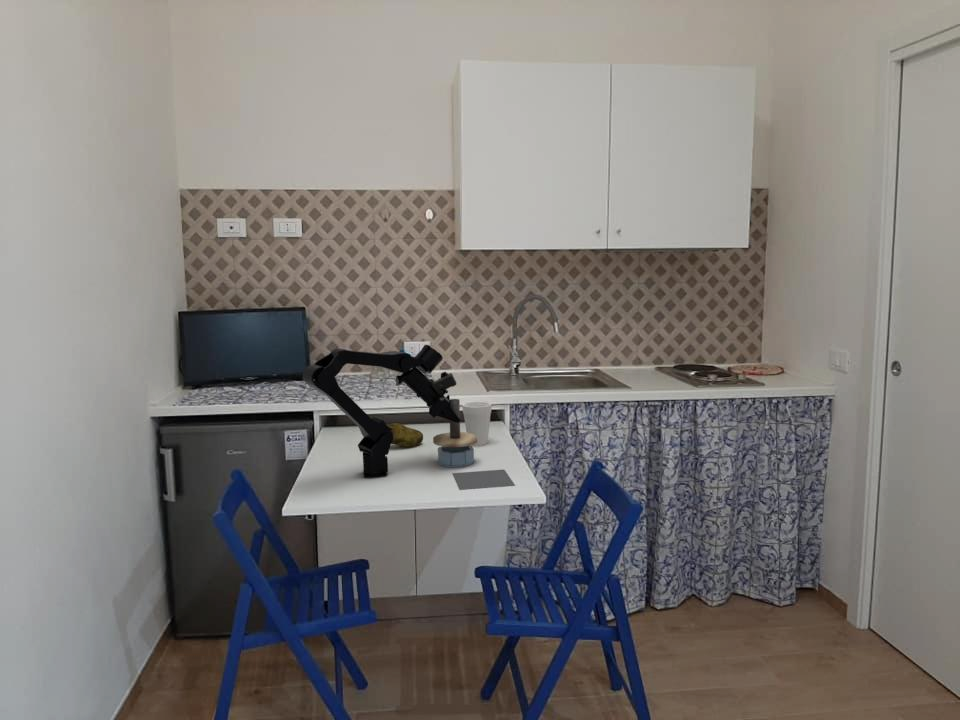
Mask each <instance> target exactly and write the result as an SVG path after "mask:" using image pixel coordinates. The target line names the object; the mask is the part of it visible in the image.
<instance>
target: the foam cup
mask: <svg viewBox="0 0 960 720" xmlns="http://www.w3.org/2000/svg"><path fill="white" fill-rule="evenodd" d="M462 413H463V418H464V425H465V429H466V430H465V431H466V432H465V433H471V434H474V435H476V436H477V443H475V444H473V445H471V446H472V447H477V446H478V447H480V446H486V445H487V444H488V442H489V434H490V433H489V432H490V425H491V424H490V423H491V415H492V403H491V402H488V401H481V400H480V401H468V402H464V403H462Z"/></svg>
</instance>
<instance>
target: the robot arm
mask: <svg viewBox="0 0 960 720" xmlns="http://www.w3.org/2000/svg"><path fill="white" fill-rule="evenodd" d="M443 359H444V358H443V356H442V354H441V353H440V352H438V351H437V350H436V349H434V348H433V347H431V346H430V344H424V345H423V347H422V348H421V350H420V351H419V352H418V353H417V354H416V355H415V356H412V355H411V354H409V353H406V352H403V351H399V350H398V351H396V350H392V351H384V352H372V351H370V352H369V351H360V350H350V349H343V348H340V347H339V348H334V349H333V350H332V351H330V353H328V354H327V355H325V356H323V357H322V358H320V359H318V360H317V361H316V362H314V363H313V364H309V365H307V366H306V367H305V369H303V372H302V380H303V382H304V383H305V384H306V385H308V386H309V387H311V388H313V389H314V390H316V391H317V392H319V393H321V394H322V395H324V396H326V397H327V399H329V400H330V401H331V402H332V403H333V404H334V405H335V406H336V407H337V408H338V409H339V410H340V411H342V413H343V414H345V416H346V417H348V418H349V419H350V420H351V422H353V423H354V424H355V425H356V426H357V427H358V429H359V431H360V434H361V435H362V437H363V438H361V440H360V441H359V442H358V444H357V447H358V449H359V452H360V453H362V463H363V465H362V466H363V467H362V468H363V470H362V473H363V474H362V475H363V478H376V477H378V478H379V477H387V476H388V474H387V473H388V472H389V460H388V459H389V458H388V456H387V455H389V453H390V448H391V446H392V445H393V444H392V442H393V436H394V435H393V433H392V432H391V431H390V430H392V428H389V427H388V426H387V425H388V424H387V423H386V422H385V421H384V420H383V419H381V418H378V417H376V416H372V417H371V416H370V415H368V413H366V412H365V410H363V409H362V407H360V406H359V405H358V404H357V403H356V401H354V400H353V399H352V398H351V397H350V396H349V395H348V394H347V393H346V391H344V390H343V389H342V388H341V387H340V385H339V383H338V380H337V379H336V377H337V375H339V373H340V372H341V370H342V369H343V368H344V366H345V365H347V364H348V365H357V366H359V365H360V366H370V367H381V368H383V369H386V370H390V371H392V372H393V371H394V372H398V373H401V374H400V375H396V376H395V386H396V387H398V386H400V385H401V384H403V383H404V385H406V386H407V388H409V389H410V390H411V391H413V393H414V394H415V396H416V397H417V398H420V399H421V400H422V401H423V402H424V403H425V404H426V407H428V414H429V415H430V416H431V417H432V418H433V419H434V418H436V417H439V418H442V419H444V420H445V419H446V420H449V421H450V420H451V421H454V422H456V423H459V422H460V423H461V418H460V419H459V417H458V416H457V415H456V413H455V412H454V411H453V409H452V408H451V407H450V399H451V398H450V394H448V393H449V390H448V389H450V388H453V387H455V386H457V381H456V379H455V377H454V375H453V373H452V372H449V373H448V372H447V371H443V372H441V373H440V378H438V379H436V380H433V379H432V378H429V377H427V375H425V374H431V373H432V372H433V371H434V370H435V369H436V368H437V366H439V364H440V363H441V362H442V361H443ZM445 394H447V395H446V396H445Z"/></svg>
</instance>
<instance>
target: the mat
mask: <svg viewBox="0 0 960 720" xmlns="http://www.w3.org/2000/svg"><path fill="white" fill-rule="evenodd" d="M451 475H452V476H453V478H454V481H455V483H456V486H457V487H458V490H459V491H463V490H476V489H488V488H489V489H491V488H493V489H494V488H503V487H505V488H506V487H516V484H515V483H514V482H513V480H512V478H511V477H510V476H509V473H507V471H506V470H505V469H492V470H491V469H490V470H479V471H477V470H476V471H464V472H452V473H451Z"/></svg>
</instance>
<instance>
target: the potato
mask: <svg viewBox="0 0 960 720" xmlns="http://www.w3.org/2000/svg"><path fill="white" fill-rule="evenodd" d="M386 425H387V426H388V427H389V428H392V430H390V431H391V432H392V433H393V435H394V436H393V442H392V444H391V445H395V446H399V447H402V448H412V447H417V446H418V445H420V444H421V443H422V442H423V440H424V434H423V432H422V431H420V430H418V429H415V428H412V427H408V426H406V425H404V424H402V423H398V422H397V423H395V422H394V423H393V422H392V423H390V424H386Z"/></svg>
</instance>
